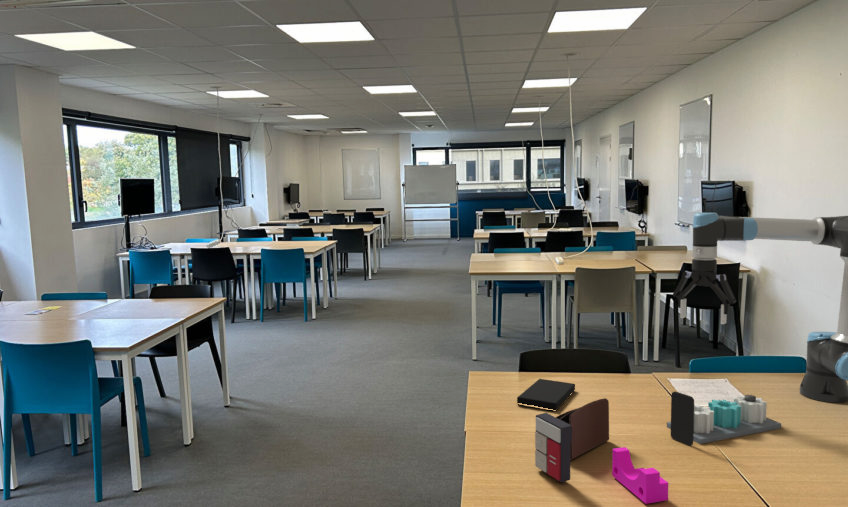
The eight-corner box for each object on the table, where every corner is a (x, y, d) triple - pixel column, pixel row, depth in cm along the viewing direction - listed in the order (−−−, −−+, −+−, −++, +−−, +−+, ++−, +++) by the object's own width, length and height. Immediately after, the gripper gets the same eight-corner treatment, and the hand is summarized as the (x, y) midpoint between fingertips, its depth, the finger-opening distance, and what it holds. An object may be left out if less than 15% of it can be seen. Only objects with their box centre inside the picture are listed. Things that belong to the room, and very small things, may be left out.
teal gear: (723, 415, 195) (724, 397, 194) (747, 425, 186) (747, 407, 185) (701, 419, 192) (701, 401, 191) (724, 430, 183) (724, 411, 182)
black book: (517, 405, 214) (517, 397, 214) (539, 386, 234) (539, 378, 233) (555, 411, 207) (555, 403, 206) (575, 391, 226) (575, 383, 226)
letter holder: (609, 440, 182) (610, 395, 181) (571, 460, 169) (571, 412, 168) (581, 430, 190) (581, 387, 188) (543, 449, 176) (543, 404, 175)
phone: (670, 438, 182) (671, 390, 180) (671, 437, 182) (672, 390, 181) (691, 447, 176) (693, 397, 174) (693, 446, 176) (695, 397, 174)
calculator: (533, 467, 165) (533, 415, 164) (545, 463, 167) (545, 412, 166) (559, 484, 156) (559, 428, 154) (572, 480, 158) (572, 425, 156)
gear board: (744, 412, 201) (745, 387, 200) (781, 428, 187) (782, 401, 186) (666, 426, 190) (667, 400, 190) (699, 444, 177) (700, 416, 176)
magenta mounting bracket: (668, 500, 147) (668, 471, 146) (645, 503, 145) (646, 474, 145) (632, 472, 161) (633, 445, 161) (612, 475, 160) (612, 448, 159)
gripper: (663, 257, 207) (662, 316, 210) (739, 262, 189) (736, 328, 191) (673, 255, 212) (672, 313, 214) (748, 260, 193) (746, 324, 196)
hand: (702, 320), depth 203 cm, fingers open, 13 cm apart
